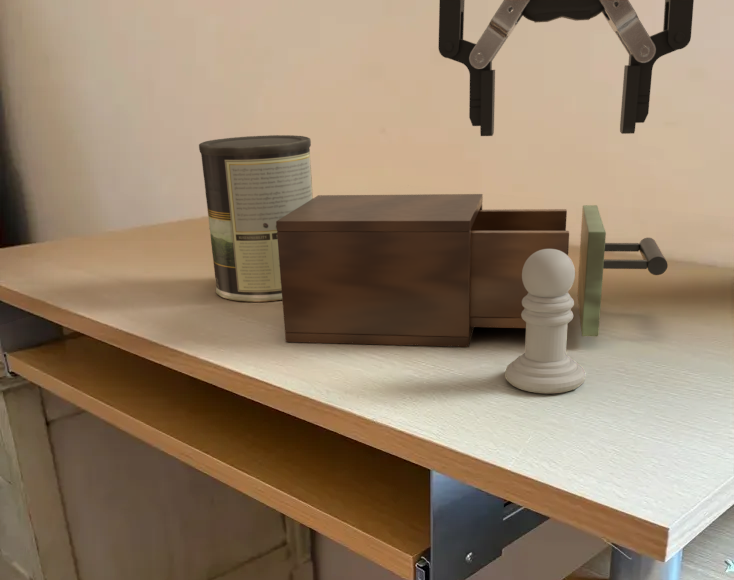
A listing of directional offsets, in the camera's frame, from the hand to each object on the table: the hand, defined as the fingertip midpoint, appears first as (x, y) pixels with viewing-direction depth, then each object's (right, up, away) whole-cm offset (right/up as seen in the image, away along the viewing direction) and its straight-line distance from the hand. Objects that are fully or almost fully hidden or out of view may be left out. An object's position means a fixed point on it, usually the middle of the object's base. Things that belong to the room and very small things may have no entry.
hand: (556, 133), depth 50 cm
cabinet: (-10, -9, +20) cm, 24 cm away
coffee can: (-21, -5, +32) cm, 39 cm away
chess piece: (+1, -15, +6) cm, 16 cm away
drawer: (+3, -9, +18) cm, 20 cm away
